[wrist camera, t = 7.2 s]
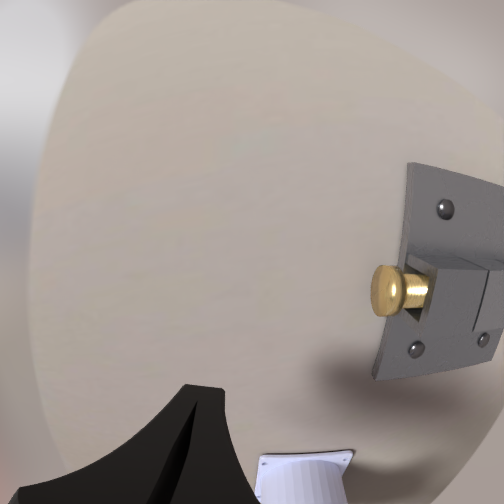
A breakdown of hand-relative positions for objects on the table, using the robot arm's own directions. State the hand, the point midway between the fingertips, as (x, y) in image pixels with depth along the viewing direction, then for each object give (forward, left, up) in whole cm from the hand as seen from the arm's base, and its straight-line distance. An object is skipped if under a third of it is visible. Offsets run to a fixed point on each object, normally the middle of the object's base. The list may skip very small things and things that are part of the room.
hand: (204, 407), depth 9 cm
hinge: (+3, -16, -8) cm, 18 cm away
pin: (+3, -15, -7) cm, 16 cm away
